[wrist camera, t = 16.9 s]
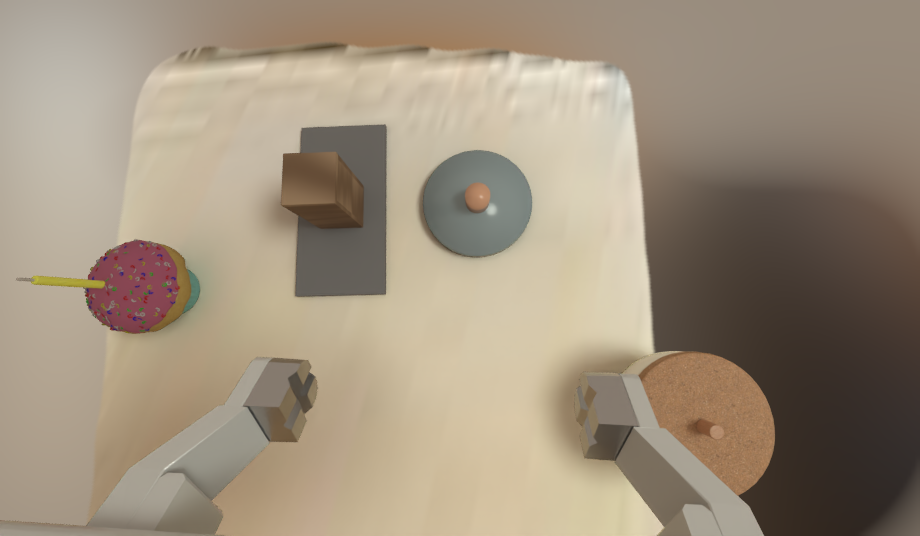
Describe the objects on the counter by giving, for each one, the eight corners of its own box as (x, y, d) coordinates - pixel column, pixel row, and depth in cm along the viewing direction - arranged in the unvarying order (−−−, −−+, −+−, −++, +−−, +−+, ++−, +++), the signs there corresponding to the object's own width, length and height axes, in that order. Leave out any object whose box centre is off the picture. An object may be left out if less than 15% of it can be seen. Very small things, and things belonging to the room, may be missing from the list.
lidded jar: (730, 434, 34) (825, 476, 25) (626, 481, 34) (684, 541, 25) (675, 327, 36) (747, 330, 27) (576, 371, 36) (612, 390, 26)
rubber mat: (385, 294, 37) (384, 293, 37) (297, 296, 37) (295, 296, 37) (386, 126, 40) (385, 124, 39) (303, 130, 40) (301, 127, 39)
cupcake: (136, 335, 37) (-20, 343, 26) (139, 253, 39) (-9, 224, 27) (219, 328, 37) (101, 332, 25) (219, 245, 38) (107, 213, 27)
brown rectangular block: (363, 227, 38) (334, 203, 30) (320, 228, 38) (281, 204, 30) (363, 186, 38) (335, 151, 30) (322, 187, 38) (283, 153, 31)
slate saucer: (533, 255, 37) (538, 249, 34) (425, 258, 38) (420, 253, 34) (527, 152, 39) (532, 137, 36) (423, 156, 39) (419, 142, 36)
